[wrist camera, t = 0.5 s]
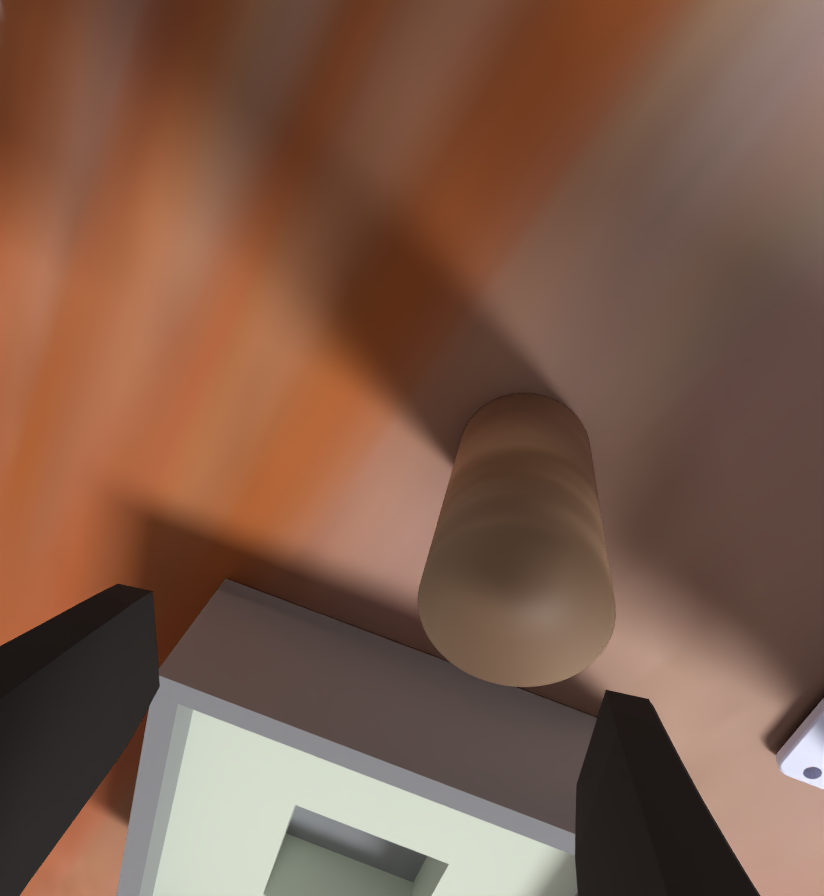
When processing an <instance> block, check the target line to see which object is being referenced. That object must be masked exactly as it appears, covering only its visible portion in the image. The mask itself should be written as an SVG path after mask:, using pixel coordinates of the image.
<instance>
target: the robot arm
mask: <svg viewBox="0 0 824 896" xmlns="http://www.w3.org/2000/svg"><path fill="white" fill-rule="evenodd" d="M159 687H160V682H159V669H158V656H157V643H156V630H155V617H154V604H153V591H149V590H144V589H140V588H135V587H130V586H126V585H121V584H116V585H114V586H112V587H110V588H108V589H106V590H104V591H102V592H100V593H98V594H96V595H94V596H93V597H91V598H89V599H87V600H85V601H83V602H81V603H79V604H78V605H76V606H74V607H72V608H70V609H68V610H67V611H65V612H63V613H61V614H59V615H57V616H56V617H54V618H52V619H50V620H48V621H46V622H44V623H43V624H41V625H39V626H37V627H35V628H33V629H32V630H30V631H28V632H26V633H24V634H22V635H20V636H18V637H17V638H15V639H13V640H11V641H9V642H7V643H5V644H3V645H1V646H0V896H20V894H21V893H22V891H23V890H24V888H25V887H26V885H27V884H28V882H29V881H30V880H31V878H32V877H33V876H34V874H35V873H36V871H37V870H38V869H39V867H40V866H41V865H42V863H43V862H44V860H45V859H46V858H47V856H48V855H49V854H50V852H51V851H52V849H53V848H54V847H55V845H56V844H57V843H58V841H59V840H60V838H61V837H62V836H63V834H64V833H65V831H66V830H67V829H68V827H69V826H70V825H71V823H72V822H73V820H74V819H75V818H76V816H77V815H78V814H79V812H80V811H81V809H82V808H83V807H84V805H85V804H86V803H87V801H88V800H89V798H90V797H91V796H92V794H93V793H94V792H95V790H96V789H97V787H98V786H99V785H100V783H101V782H102V780H103V779H104V778H105V776H106V775H107V773H108V772H109V771H110V769H111V768H112V766H113V765H114V764H115V762H116V761H117V759H118V758H119V756H120V755H121V754H122V752H123V751H124V749H125V748H126V746H127V745H128V743H129V741H130V740H131V738H132V736H133V734H134V733H135V731H136V729H137V727H138V726H139V724H140V722H141V721H142V719H143V717H144V715H145V713H146V711H147V709H148V708H149V706H150V704H151V702H152V700H153V698H154V696H155V695H156V693H157V691H158V689H159ZM776 762H777V764H778V767H779V769H780V771H781V772H782V773H783V774H785V775H787V776H789V777H792V778H794V779H797V780H800V781H802V782H805V783H808V784H810V785H813V786H816V787H818V788H821V789H824V698H823V699H822V700H821V702H820V703H819V704H818V705H817V706H816V707H815V709H814V710H813V711H812V712H811V713H810V715H809V716H808V717H807V718H806V719H805V721H804V722H803V723H802V724H801V725H800V726H799V728H798V729H797V730H796V731H795V732H794V734H793V735H792V736H791V737H790V738H789V740H788V741H787V742H786V743H785V744H784V746H783V747H782V748H781V749H780V750H779V751H778V753H777V755H776ZM808 767H813V768H808ZM575 865H576V878H577V890H578V896H760V894H759V893H758V891H757V890H756V888H755V887H754V885H753V883H752V882H751V880H750V879H749V877H748V875H747V874H746V872H745V871H744V869H743V867H742V866H741V864H740V862H739V861H738V859H737V857H736V856H735V854H734V852H733V851H732V849H731V847H730V846H729V844H728V842H727V840H726V839H725V837H724V835H723V834H722V832H721V830H720V829H719V827H718V825H717V823H716V822H715V820H714V818H713V817H712V815H711V813H710V812H709V810H708V808H707V806H706V804H705V803H704V801H703V799H702V797H701V796H700V794H699V792H698V790H697V788H696V787H695V785H694V783H693V781H692V779H691V777H690V775H689V774H688V772H687V770H686V768H685V766H684V764H683V763H682V761H681V759H680V757H679V755H678V753H677V751H676V749H675V747H674V745H673V744H672V742H671V740H670V738H669V736H668V734H667V732H666V730H665V728H664V726H663V724H662V722H661V720H660V718H659V716H658V714H657V712H656V710H655V708H654V706H653V705H652V704H651V702H650V701H649V699H646V698H641V697H636V696H632V695H627V694H623V693H618V692H613V691H609V690H606V691H605V695H604V698H603V701H602V704H601V708H600V711H599V714H598V717H597V720H596V724H595V727H594V730H593V733H592V736H591V740H590V743H589V746H588V749H587V753H586V756H585V759H584V762H583V765H582V769H581V772H580V775H579V778H578V781H577V785H576V818H575Z"/></svg>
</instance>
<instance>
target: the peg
mask: <svg viewBox="0 0 824 896" xmlns="http://www.w3.org/2000/svg"><path fill="white" fill-rule="evenodd" d="M418 610H419V616H420V620H421V623H422V626H423V628H424V630H425V632H426V634H427V636H428V638H429V639H430V641H431V642H432V644H433V645H434V647H435V648H436V649H437V650H438V651H439V652H440V653H441V654H442V655H443V656H444V657H445V658H446V659H447V660H448V661H449V662H451V663H452V664H454V665H455V666H456V667H458V668H459V669H461V670H463V671H464V672H466V673H468V674H470V675H472V676H474V677H477V678H479V679H482V680H485V681H488V682H491V683H495V684H500V685H505V686H513V687H534V686H543V685H548V684H553V683H556V682H559V681H563V680H565V679H567V678H570V677H572V676H574V675H576V674H578V673H579V672H581V671H583V670H584V669H586V668H587V667H588V666H589V665H591V664H592V663H593V662H594V661H595V660H596V659H597V658H598V657H599V656H600V655H601V653H602V652H603V650H604V649H605V648H606V646H607V644H608V642H609V640H610V638H611V636H612V633H613V629H614V625H615V617H616V611H615V600H614V594H613V587H612V581H611V575H610V569H609V562H608V556H607V550H606V543H605V537H604V531H603V524H602V518H601V512H600V505H599V499H598V493H597V486H596V480H595V474H594V468H593V461H592V455H591V449H590V443H589V438H588V435H587V433H586V430H585V428H584V426H583V424H582V423H581V421H580V420H579V419H578V417H577V416H576V415H575V414H574V413H573V412H572V411H571V410H570V409H568V408H567V407H566V406H565V405H563V404H561V403H560V402H558V401H556V400H554V399H551V398H549V397H546V396H542V395H538V394H532V393H518V394H511V395H506V396H503V397H500V398H497V399H495V400H493V401H491V402H489V403H487V404H486V405H484V406H483V407H482V408H481V409H479V410H478V411H477V412H476V413H475V414H474V415H473V417H472V418H471V419H470V420H469V422H468V424H467V425H466V427H465V429H464V432H463V435H462V438H461V441H460V445H459V448H458V452H457V455H456V459H455V462H454V466H453V470H452V473H451V477H450V480H449V484H448V487H447V491H446V494H445V498H444V501H443V505H442V508H441V512H440V515H439V519H438V522H437V526H436V530H435V533H434V537H433V540H432V544H431V547H430V551H429V554H428V558H427V561H426V565H425V568H424V572H423V575H422V579H421V583H420V586H419V592H418Z"/></svg>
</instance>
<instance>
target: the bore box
mask: <svg viewBox="0 0 824 896" xmlns="http://www.w3.org/2000/svg"><path fill="white" fill-rule="evenodd" d="M159 682H160V687H159V689H158V691H157V693H156V695H155V696H154V698H153V700H152V702H151V704H150V706H149V711H148V717H147V723H146V728H145V734H144V740H143V746H142V751H141V757H140V763H139V769H138V774H137V780H136V786H135V792H134V797H133V803H132V809H131V814H130V820H129V826H128V832H127V837H126V843H125V849H124V855H123V860H122V866H121V872H120V878H119V883H118V889H117V895H116V896H578V890H577V878H576V865H575V818H576V785H577V781H578V778H579V775H580V772H581V769H582V765H583V762H584V759H585V756H586V753H587V749H588V746H589V743H590V740H591V736H592V733H593V730H594V727H595V724H596V720H597V717H594V716H591V715H589V714H586V713H583V712H581V711H578V710H575V709H573V708H570V707H567V706H565V705H562V704H559V703H557V702H554V701H551V700H549V699H546V698H543V697H541V696H538V695H535V694H533V693H530V692H527V691H525V690H522V689H519V688H517V687H513V686H505V685H500V684H495V683H491V682H488V681H485V680H482V679H479V678H477V677H474V676H472V675H470V674H468V673H466V672H464V671H463V670H461V669H459V668H458V667H456V666H455V665H454V664H452V663H450V662H447V661H445V660H442V659H439V658H437V657H434V656H431V655H429V654H426V653H423V652H421V651H418V650H415V649H413V648H410V647H407V646H405V645H402V644H399V643H397V642H394V641H391V640H389V639H386V638H383V637H381V636H378V635H375V634H373V633H370V632H367V631H365V630H362V629H359V628H357V627H354V626H351V625H349V624H346V623H343V622H341V621H338V620H335V619H333V618H330V617H327V616H325V615H322V614H319V613H317V612H314V611H311V610H309V609H306V608H303V607H301V606H298V605H295V604H293V603H290V602H287V601H285V600H282V599H279V598H277V597H274V596H271V595H269V594H266V593H263V592H261V591H258V590H255V589H253V588H250V587H247V586H245V585H242V584H239V583H237V582H234V581H231V580H229V579H225V580H224V581H223V583H222V584H221V585H220V587H219V588H218V589H217V591H216V592H215V593H214V595H213V596H212V597H211V599H210V600H209V602H208V603H207V604H206V606H205V607H204V608H203V610H202V611H201V612H200V614H199V615H198V616H197V618H196V619H195V620H194V622H193V623H192V624H191V626H190V627H189V629H188V630H187V631H186V633H185V634H184V635H183V637H182V638H181V639H180V641H179V642H178V643H177V645H176V646H175V647H174V649H173V650H172V652H171V653H170V654H169V656H168V657H167V658H166V660H165V661H164V662H163V664H162V665H161V666H160V668H159Z"/></svg>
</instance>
